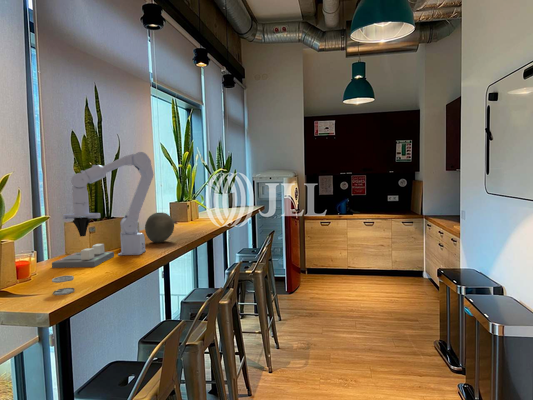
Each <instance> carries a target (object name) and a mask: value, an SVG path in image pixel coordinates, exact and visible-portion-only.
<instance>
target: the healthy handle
mask: <svg viewBox="0 0 533 400" xmlns="http://www.w3.org/2000/svg"><path fill="white" fill-rule="evenodd" d="M91 248H94V254H102V253H104V252H106V251H105V243H96V244H93V245H92V247H91Z"/></svg>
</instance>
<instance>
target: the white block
mask: <svg viewBox="0 0 533 400" xmlns="http://www.w3.org/2000/svg"><path fill="white" fill-rule="evenodd" d="M80 252H81V260H90V259H92V258H94V248H92V247H91V248H90V247H89V248H88V247H87V248H84V249H81V250H80Z"/></svg>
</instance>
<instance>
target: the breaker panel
mask: <svg viewBox="0 0 533 400" xmlns="http://www.w3.org/2000/svg"><path fill="white" fill-rule="evenodd" d="M113 257H115V251H105V252H104V253H102V254H94V258H92V259H90V260H81V251H80V252H74V253H72V254H69V255H67V256H65V257H61V258H60V259H57V260H55V261H52V262H51V268H52V269H58V268H59V269H61V268H62V269H63V268H65V267H66V268H95V267H97V266H99V265H101V264H102V262H103V263H104V261H105V262H106V261H108V260H110V259H112V258H113Z"/></svg>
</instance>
